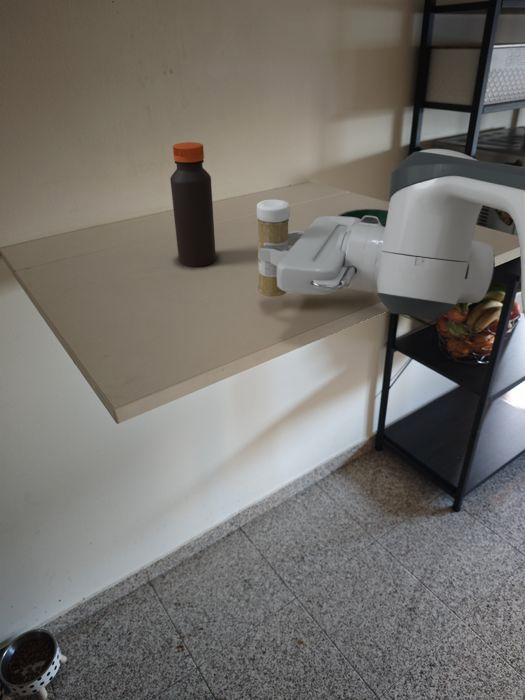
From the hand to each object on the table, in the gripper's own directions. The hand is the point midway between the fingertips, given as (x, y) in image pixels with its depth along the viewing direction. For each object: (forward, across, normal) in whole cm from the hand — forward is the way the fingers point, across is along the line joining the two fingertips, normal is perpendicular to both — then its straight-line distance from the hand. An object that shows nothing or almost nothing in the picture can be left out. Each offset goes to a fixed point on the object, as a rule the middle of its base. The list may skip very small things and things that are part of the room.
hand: (267, 245), depth 72 cm
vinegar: (+18, +12, -10) cm, 24 cm away
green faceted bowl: (-11, +29, -10) cm, 33 cm away
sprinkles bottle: (-1, 0, -7) cm, 7 cm away
